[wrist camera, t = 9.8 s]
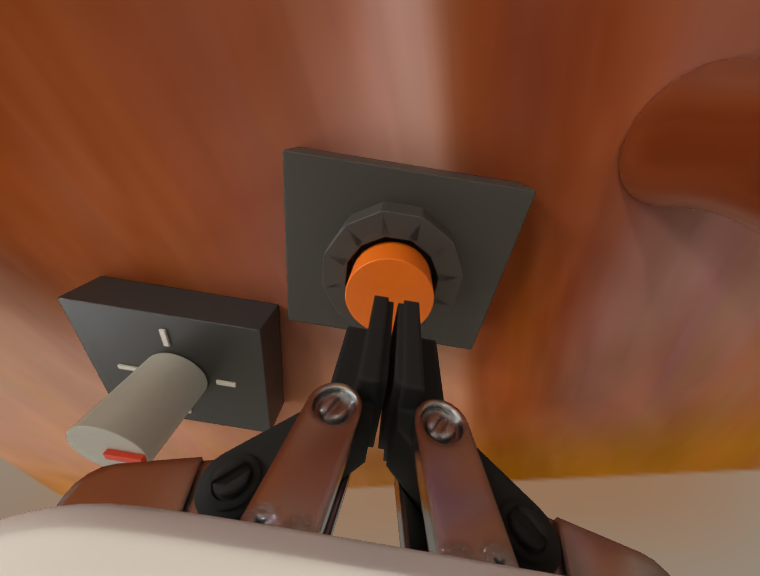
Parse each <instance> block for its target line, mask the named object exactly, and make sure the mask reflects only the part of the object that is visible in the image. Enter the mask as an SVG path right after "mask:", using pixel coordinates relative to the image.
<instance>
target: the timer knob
mask: <svg viewBox="0 0 760 576" xmlns="http://www.w3.org/2000/svg"><path fill="white" fill-rule="evenodd" d="M207 384H208V383H207V378H206V376H205V374H204V373H203V372H202V370H201V369H200V368H199V367H198V366H197V365H195V364H194V363H193V362H191V361H189V360H188V359H186V358H184V357H181V356H179V355H175V354H171V353H158V354H154V355H152V356H150V357H149V358H148V359H147V360H146V361H145V362H144V363H143V364H141V365H140V366H139V367H138V368H137V369H136V370H135V371H134V372H133V373H131V374H130V375H129V376H128V377H127V378H126V379H125V380H124V381H123V382H121V383H120V384H119V385H118V386H117V387H116V388H115V389H114V390H113V391H111V392H110V393H109V394H108V395H107V396H106V397H105V398H104V399H103V400H101V401H100V402H99V403H98V404H97V405H96V406H95V407H94V408H93V409H91V410H90V411H89V412H88V413H87V414H86V415H85V416H84V417H83V418H81V419H80V420H79V421H78V422H77V423H76V424H75V425H74V426H73V427H71V428H70V429H69V430H68V432H67V434H66V438H67V441H68V443H69V444H70V446H71V447H72V448H73V449H74V450H75V451H76V452H78V453H79V454H80V455H82V456H83V457H85V458H86V459H88V460H90V461H92V462H94V463H96V464H99V465H101V466H108V465H112V464H117V463H131V462H144V461H152V460H153V459H154V458H155V456H156V455H157V454H158V452H159V451H160V450H161V448H162V447H163V446H164V444H165V443H166V442H167V440H168V439H169V438H170V436H171V435H172V434H173V432H174V431H175V430H176V429H177V427H178V426H179V425H180V423H181V422H182V421H183V419H184V418H185V417H186V415H187V414H188V413H189V411H190V410H191V409H192V407H193V406H194V405H195V404H196V402H197V401H198V400H199V398H200V397H201V396H202V394H203V393H204V392H205V390H206V389H207Z"/></svg>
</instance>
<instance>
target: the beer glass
mask: <svg viewBox="0 0 760 576" xmlns="http://www.w3.org/2000/svg"><path fill="white" fill-rule="evenodd" d="M619 173H620V178H621V181H622V184H623V186H624V187H625V189H626V190H627V192H628V193H629V194H630V195H631V196H633V197H634V198H635V199H637V200H639V201H641V202H643V203H645V204H649V205H654V206H659V207H669V208H683V209H695V210H702V211H707V212H711V213H714V214H717V215H720V216H722V217H725V218H728V219H730V220H732V221H734V222H736V223H738V224H740V225H742V226H744V227H746V228H748V229H750V230H752V231H754V232H756V233H758V234H760V58H732V59H725V60H720V61H716V62H712V63H709V64H706V65H704V66H701V67H699V68H696V69H694V70H692V71H690V72H688V73H686V74H684V75H682V76H681V77H679V78H677V79H676V80H674V81H673V82H671V83H670V84H669V85H667V86H666V87H665V88H664V89H662V90H661V91H660V92H659V93H658V94H657V95H656V96H655V97H654V98H653V99H652V100H651V101H650V102H649V103H648V104H647V105H646V106H645V107H644V109H643V110H642V111H641V112H640V114H639V115H638V116H637V118H636V119H635V121H634V122H633V124H632V126H631V127H630V129H629V131H628V133H627V135H626V137H625V140H624V142H623V145H622V149H621V153H620V158H619Z"/></svg>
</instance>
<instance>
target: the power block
mask: <svg viewBox="0 0 760 576" xmlns="http://www.w3.org/2000/svg"><path fill="white" fill-rule="evenodd" d="M283 178H284V207H285V235H286V264H287V293H288V320H291V321H298V322H304V323H310V324H316V325H322V326H329V327H335V328H341V329H347V328H348V326H352V327H358V328H364V329H368V328H366V327H364V326H363V325H361V324H360V323H359V322H358V321H357V320H355V318H354V317H353V316H352V315H351V313H350V311H349V309H348V307H347V304H346V300H345V290H346V285H347V282H348V280H349V277H350V274H351V272H352V269H353V266H354V264H355V262H356V260H357V258H358V257H359V255H360V254H361V253H362V252H363V251H364V250H366V249H367V248H369V247H370V246H372V245H375V244H377V243H381V242H390V241H393V242H400V243H404V244H407V245H409V246H411V247H413V248H414V249H416V250H417V251H418V252H420V253H421V254H422V256H423V257H424V258H425V260H426V261H427V263H428V265H429V268H430V273H431V279H432V285H433V291H434V303H433V307H432V310H431V312H430V314H429V316H428V317H427V318H426V319H425V320H424V322H423V323H421V338H424V339H430V340H435V341H436V344H440V345H446V346H452V347H458V348H465V349H472V347H473V344H474V342H475V339H476V337H477V335H478V332H479V330H480V327H481V325H482V322H483V320H484V318H485V315H486V313H487V310H488V308H489V305H490V303H491V300H492V298H493V296H494V293H495V291H496V288H497V286H498V283H499V281H500V279H501V276H502V274H503V271H504V269H505V266H506V264H507V261H508V259H509V257H510V254H511V252H512V249H513V247H514V244H515V242H516V240H517V237H518V235H519V232H520V230H521V227H522V225H523V222H524V220H525V218H526V215H527V213H528V210H529V208H530V205H531V203H532V200H533V198H534V196H535V193H536V191H535V190H533V189H531V188H529V187H527V186H525V185H523V184H521V183H518V182H512V181H506V180H500V179H493V178H487V177H481V176H475V175H469V174H463V173H456V172H450V171H444V170H438V169H432V168H426V167H419V166H413V165H407V164H401V163H395V162H389V161H382V160H376V159H370V158H364V157H358V156H352V155H345V154H339V153H333V152H327V151H321V150H315V149H308V148H302V147H296V148H290V149H285V150H283ZM391 335H392V334H391Z"/></svg>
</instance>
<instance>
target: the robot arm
mask: <svg viewBox="0 0 760 576" xmlns="http://www.w3.org/2000/svg"><path fill="white" fill-rule="evenodd" d="M393 308H394V302H390V301H389V297H383V296H377V295H375V296H374V301H373V306H372V311H371V316H370V321H369V326H368V329H364V328H358V327H352V326H348V328H347V331H346V334H345V338H344V341H343V344H342V348H341V351H340V354H339V358H338V361H337V364H336V368H335V371H334V374H333V378H332V381H331V383H327V384H325V385H322V386H320V387H318V388H317V389H316V390H314V391H313V392H312V394H311V395H310V396H309V398H308V400H307V401H306V403H305V405H304V407H303V408H302V410H301V412H299V413H298V414H296V415H294V416H292V417H290V418H288V419H286V420H285V421H283V422H281V423H279V424H277V425H275V426H274V427H272V428H270V429H268V430H266V431H264V432H263V433H261V434H259V435H257V436H255V437H253V438H251V439H250V440H248V441H246V442H244V443H242V444H240V445H239V446H237V447H235V448H233V449H231V450H229V451H228V452H226V453H224V454H222V455H221V456H219V457H218V458H216V459H215V460H208V461H203V459H202V457H196V458H183V459H170V460H157V461H144V462H131V463H117V464H112V465H108V466H103V467H101V468H99V469H97V470H95V471H93V472H91V473H89V474H87V475H86V476H84V477H83V478H82V479H80V480H79V481H78V482H76V483H75V484H74V485H73V486H72V487H71V488H70V489H69V490H68V492H67V493H66V494H65V495H64V496H63V497H62V499H61V500H60V502H59V503H58V505H57V506H56V507H50V508H45V509H39V510H34V511H29V512H25V513H21V514H18V515H14V516H10V517H7V518H3V519H0V576H670V575H669V574H668V573H667V572H666V571H665V570H664V569H663V568H662V567H661V566H660V565H659V564H657V563H656V562H655V561H654V560H653V559H651V558H649V557H648V556H646V555H644V554H642V553H641V552H638V551H636V550H634V549H631V548H629V547H627V546H624V545H622V544H619V543H617V542H615V541H612V540H610V539H608V538H605V537H603V536H601V535H598V534H596V533H593V532H591V531H588V530H586V529H584V528H581V527H579V526H577V525H574V524H572V523H570V522H567V521H565V520H563V519H560V518H558V517H557V518H556V519H555V520H552V519H550V518H548V517H547V516H546V515H545V514H544V513H543V512H542V511H541V509H540V508H539V507H538V506H537V505H536V504H535V503H534V502H533V501H532V500H531V499H530V498H529V497H528V496H527V495H526V494H524V493H523V492H522V491H521V490H520V489H519V488H518V487H517V486H516V485H515V484H514V483H513V482H512V481H511V480H510V479H509V478H508V477H507V476H506V475H505V474H504V473H503V472H502V471H501V470H500V469H499V468H498V467H496V466H495V465H494V464H493V463H492V462H491V461H490V460H489V459H488V458H487V457H486V456H485V455H484V454H483V453H482V452H481V451H480V450H479V449H478V448H477V447H476V444H475V442H474V439H473V436H472V433H471V430H470V428H469V425H468V422H467V420H466V418H465V417H464V415H463V414H462V413H461V412H460V410H459V409H458V408H456V407H455V406H453V405H452V404H450V403H448V402H446V401H444V399H443V391H442V383H441V376H440V368H439V360H438V352H437V345H436V341H435V340H430V339H424V338H421V322H420V306H419V302H413V301H407V300H404V303H403V304H402V303H398V306H397V311H396V316H395V321H394V325H393V330H392V321H393ZM391 333H392V335H391ZM381 410H382V412H381ZM380 414H381V422H380V433H379V444H378V448H380V449H384V461H387V463H386V466H387V467H388V469H389V470H390V471H391V472H392V474H393V475H394V476H395V481H394V486H395V496H396V507H397V517H398V528H399V539H400V547H395V546H390V545H384V544H378V543H372V542H366V541H361V540H355V539H349V538H343V537H336V536H332V534H333V531H334V528H335V525H336V521H337V518H338V515H339V512H340V509H341V505H342V502H343V499H344V496H345V492H346V489H347V486H348V483H349V479H350V476H351V472H353V471H354V470H355V469H356V468H358V467H359V466H360V465H362V464H363V463H364V462H365V459H366V454H367V449H368V447H373V445H374V441H375V436H376V432H377V428H378V423H379V419H380Z"/></svg>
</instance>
